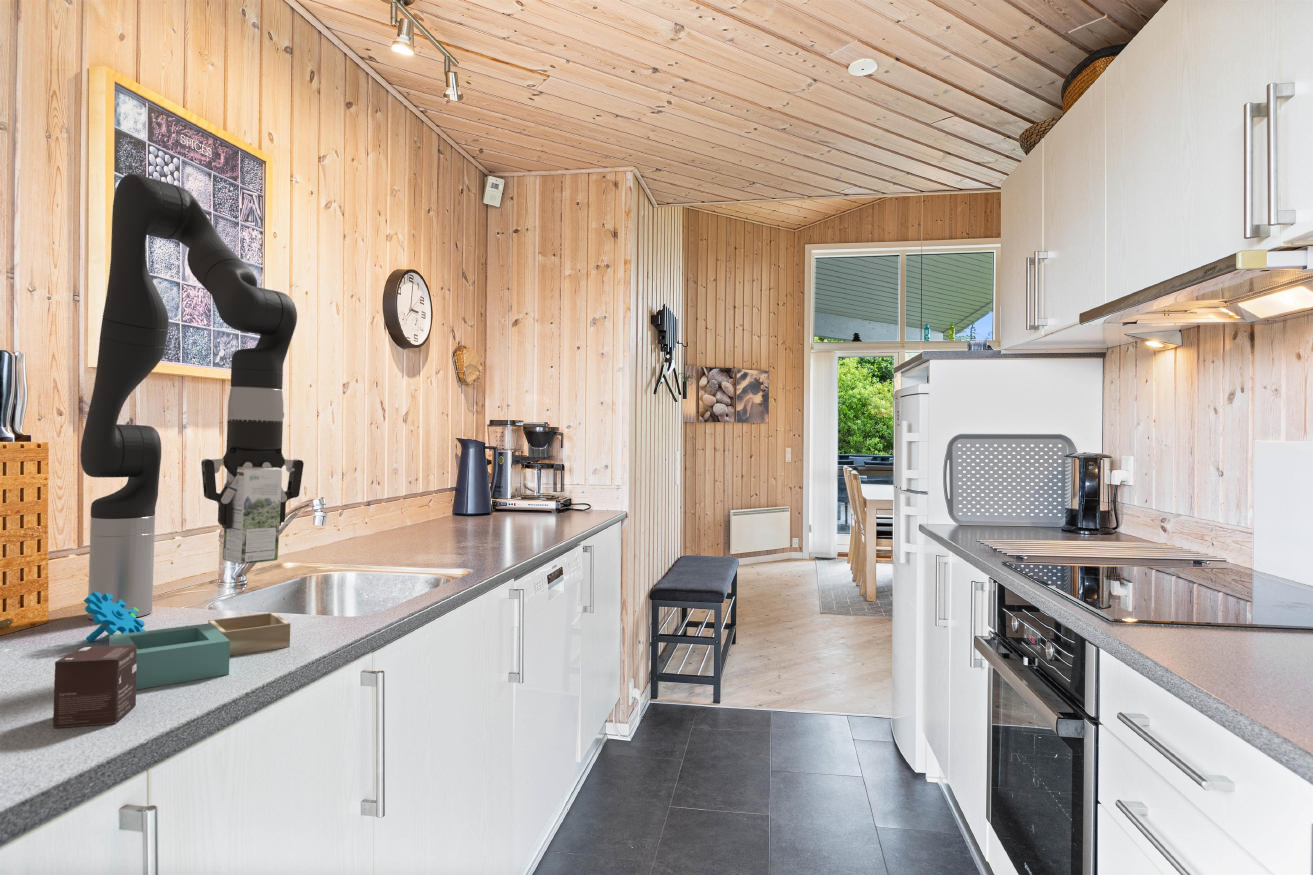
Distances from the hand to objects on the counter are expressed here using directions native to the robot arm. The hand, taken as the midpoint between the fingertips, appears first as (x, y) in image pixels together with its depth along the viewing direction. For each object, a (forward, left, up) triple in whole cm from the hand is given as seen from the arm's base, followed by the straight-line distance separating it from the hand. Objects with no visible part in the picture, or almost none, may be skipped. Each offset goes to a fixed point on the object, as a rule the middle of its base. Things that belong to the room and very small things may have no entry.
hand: (251, 526), depth 115 cm
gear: (-14, -15, -18) cm, 28 cm away
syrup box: (0, 0, -5) cm, 5 cm away
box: (+22, -21, -18) cm, 35 cm away
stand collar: (0, 0, -18) cm, 18 cm away
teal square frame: (+8, -12, -18) cm, 23 cm away
